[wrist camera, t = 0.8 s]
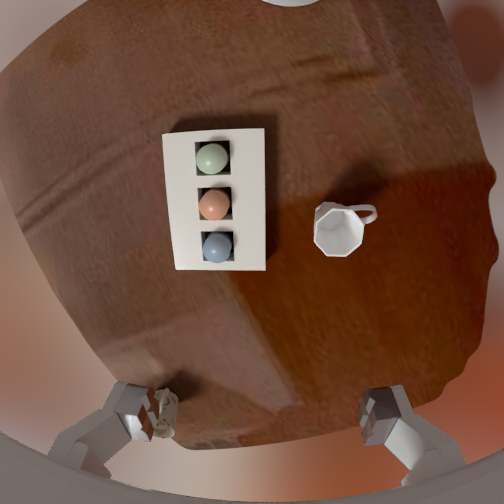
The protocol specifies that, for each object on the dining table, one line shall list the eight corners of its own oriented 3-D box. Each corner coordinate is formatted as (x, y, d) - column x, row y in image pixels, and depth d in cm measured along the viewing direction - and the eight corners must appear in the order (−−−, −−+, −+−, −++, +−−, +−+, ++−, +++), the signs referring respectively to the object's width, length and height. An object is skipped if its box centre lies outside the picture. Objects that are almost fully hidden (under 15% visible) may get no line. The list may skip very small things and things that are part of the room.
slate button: (205, 230, 45) (201, 237, 43) (231, 230, 45) (229, 237, 43) (207, 254, 47) (203, 263, 44) (232, 254, 47) (230, 263, 44)
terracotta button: (202, 188, 43) (197, 192, 40) (229, 187, 43) (227, 192, 40) (204, 214, 44) (200, 220, 42) (230, 214, 44) (228, 220, 42)
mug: (150, 401, 66) (139, 431, 57) (150, 370, 61) (137, 403, 52) (181, 410, 67) (173, 441, 58) (186, 380, 62) (176, 415, 53)
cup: (299, 201, 44) (305, 217, 37) (360, 180, 43) (378, 192, 35) (313, 242, 47) (321, 265, 40) (371, 222, 45) (389, 241, 38)
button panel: (168, 133, 41) (162, 134, 38) (264, 128, 40) (264, 128, 38) (180, 261, 49) (175, 269, 47) (265, 261, 49) (265, 270, 46)
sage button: (199, 143, 40) (195, 145, 37) (228, 142, 40) (225, 143, 37) (201, 171, 42) (196, 174, 39) (229, 170, 42) (226, 173, 39)
